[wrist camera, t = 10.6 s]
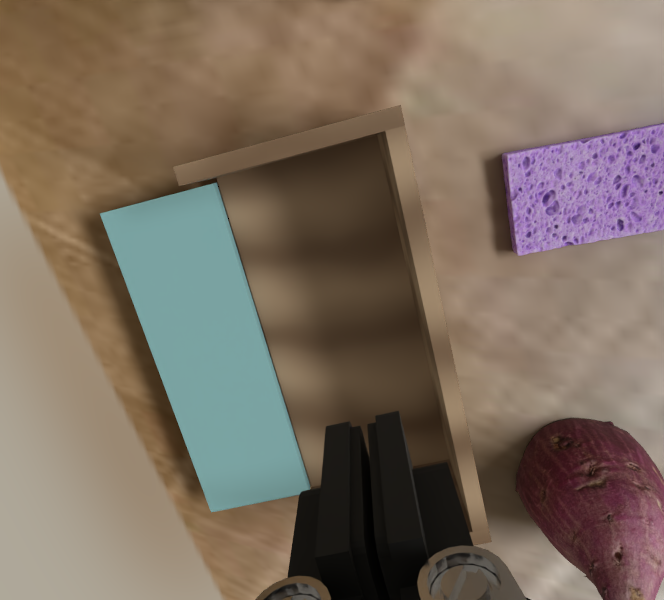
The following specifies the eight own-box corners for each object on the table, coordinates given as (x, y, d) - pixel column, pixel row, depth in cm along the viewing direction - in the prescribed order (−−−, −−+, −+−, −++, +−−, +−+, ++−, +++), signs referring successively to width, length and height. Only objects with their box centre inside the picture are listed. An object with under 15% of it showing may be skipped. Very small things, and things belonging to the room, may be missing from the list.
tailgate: (218, 181, 35) (109, 211, 36) (213, 183, 34) (99, 213, 35) (310, 481, 42) (215, 500, 43) (309, 492, 40) (211, 512, 41)
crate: (217, 162, 36) (173, 166, 27) (387, 116, 35) (400, 104, 26) (315, 485, 43) (307, 576, 34) (460, 456, 42) (491, 541, 33)
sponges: (498, 153, 36) (506, 153, 34) (688, 116, 35) (706, 114, 33) (508, 252, 38) (516, 257, 36) (689, 220, 37) (707, 223, 35)
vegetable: (515, 503, 47) (527, 680, 34) (511, 407, 43) (522, 568, 30) (649, 511, 44) (719, 711, 31) (658, 409, 40) (743, 589, 27)
